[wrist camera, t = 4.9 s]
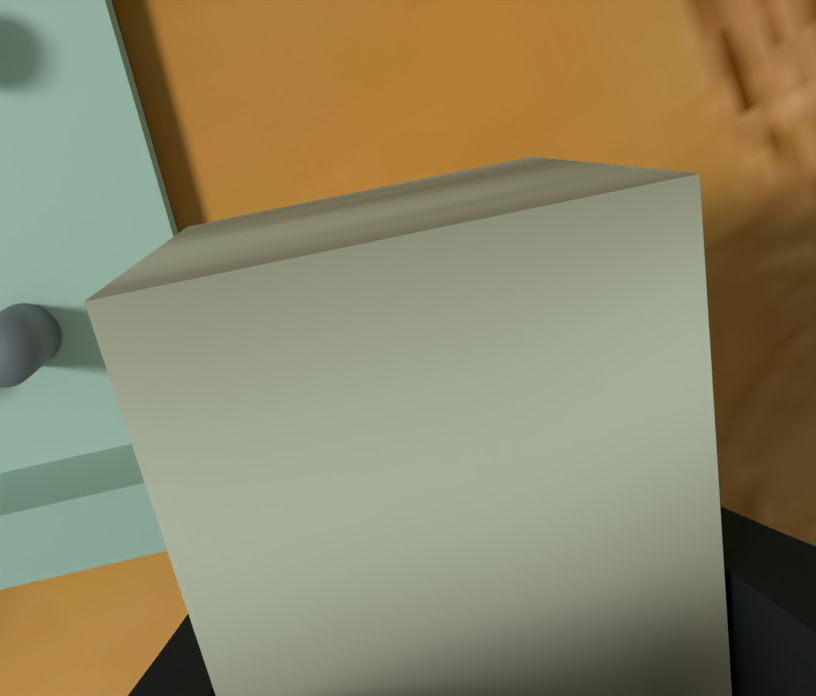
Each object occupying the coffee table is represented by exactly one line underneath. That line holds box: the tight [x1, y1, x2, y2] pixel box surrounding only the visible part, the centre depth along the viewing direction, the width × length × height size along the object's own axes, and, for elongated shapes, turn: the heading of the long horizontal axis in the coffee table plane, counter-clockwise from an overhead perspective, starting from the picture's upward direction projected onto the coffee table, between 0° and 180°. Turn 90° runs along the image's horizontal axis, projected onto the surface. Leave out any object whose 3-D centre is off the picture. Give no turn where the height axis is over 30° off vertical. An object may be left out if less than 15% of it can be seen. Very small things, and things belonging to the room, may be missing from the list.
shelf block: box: [84, 157, 732, 696], centre depth 9 cm, size 10×4×4 cm, turn 11°
